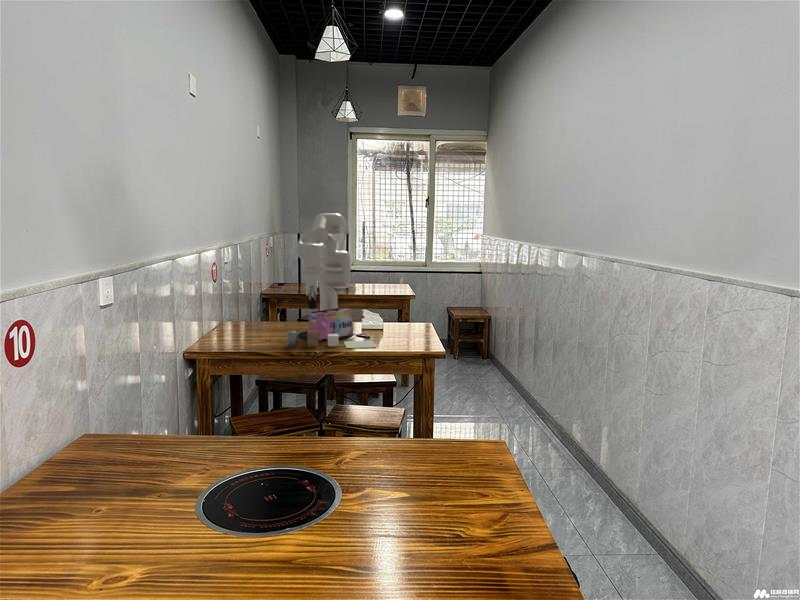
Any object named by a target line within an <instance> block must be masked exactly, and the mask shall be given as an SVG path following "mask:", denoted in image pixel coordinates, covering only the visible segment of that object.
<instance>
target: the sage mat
mask: <svg viewBox="0 0 800 600" xmlns="http://www.w3.org/2000/svg"><path fill="white" fill-rule="evenodd" d="M343 344H344V347H345V346H346V347H345V349H346V348H360V349H376V348H377V346H376V344H375V342H374V341H373V340H352V341H351V340H350V341H349V340H345V341H343ZM373 347H375V348H373Z"/></svg>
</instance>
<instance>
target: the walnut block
mask: <svg viewBox="0 0 800 600" xmlns="http://www.w3.org/2000/svg"><path fill="white" fill-rule="evenodd" d="M306 335H307V337H306V339H307V340H306V341H307V344H308V345H307V348H312V347H311V346H318V347H319V341H318V330H309V329H308V330H307V333H306Z"/></svg>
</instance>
